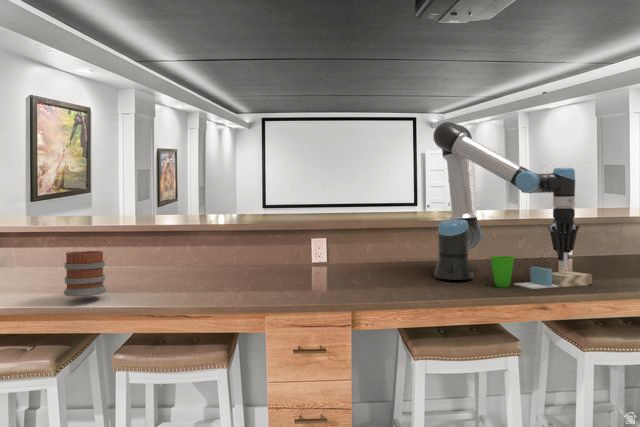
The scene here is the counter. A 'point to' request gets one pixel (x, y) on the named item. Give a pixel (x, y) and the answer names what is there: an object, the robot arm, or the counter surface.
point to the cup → (502, 270)
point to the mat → (534, 285)
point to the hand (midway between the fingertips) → (563, 269)
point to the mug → (84, 273)
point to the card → (541, 276)
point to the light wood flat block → (571, 278)
